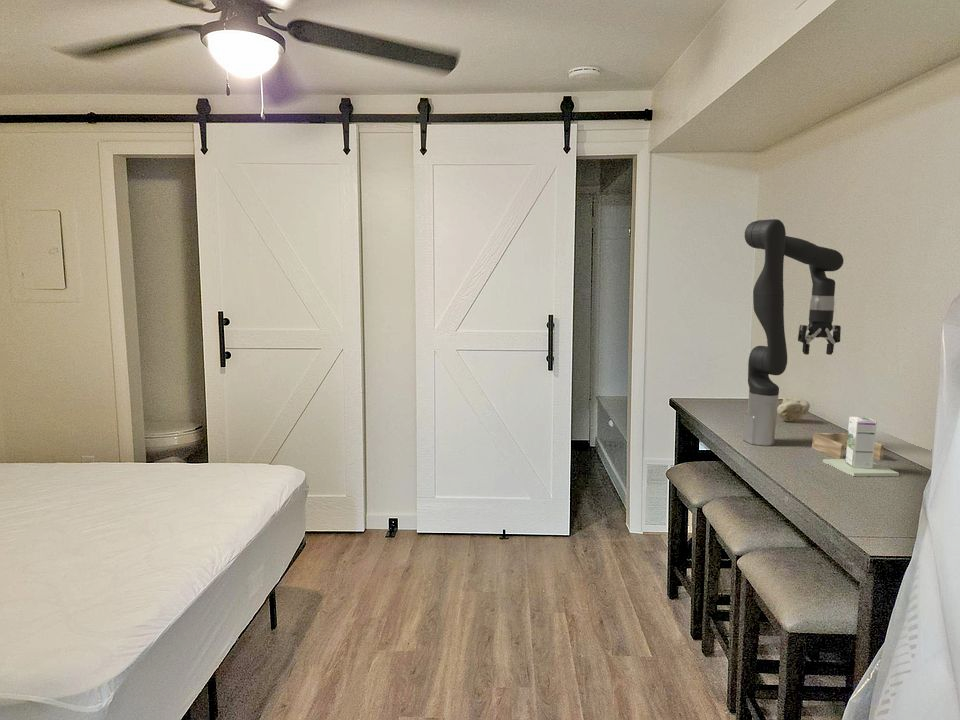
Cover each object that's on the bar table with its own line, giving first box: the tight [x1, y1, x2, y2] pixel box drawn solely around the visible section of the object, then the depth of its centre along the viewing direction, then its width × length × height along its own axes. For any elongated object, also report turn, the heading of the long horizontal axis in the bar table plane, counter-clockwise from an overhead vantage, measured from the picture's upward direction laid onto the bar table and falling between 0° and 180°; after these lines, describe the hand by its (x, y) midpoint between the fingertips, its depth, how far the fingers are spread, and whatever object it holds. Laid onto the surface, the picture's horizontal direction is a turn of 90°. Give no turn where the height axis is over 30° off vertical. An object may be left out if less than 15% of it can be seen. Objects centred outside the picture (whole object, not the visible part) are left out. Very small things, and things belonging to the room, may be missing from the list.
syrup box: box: [844, 416, 878, 469], centre depth 191 cm, size 6×6×14 cm
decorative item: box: [777, 397, 811, 423], centre depth 252 cm, size 12×9×10 cm
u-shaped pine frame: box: [811, 432, 885, 461], centre depth 208 cm, size 14×14×5 cm
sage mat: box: [822, 458, 900, 478], centre depth 192 cm, size 14×14×1 cm
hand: (817, 354), depth 226 cm, fingers open, 8 cm apart
